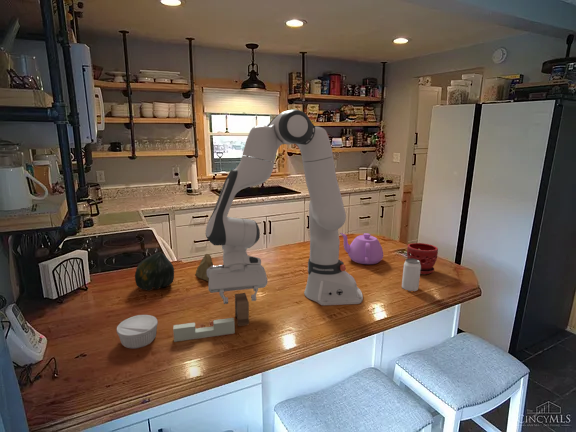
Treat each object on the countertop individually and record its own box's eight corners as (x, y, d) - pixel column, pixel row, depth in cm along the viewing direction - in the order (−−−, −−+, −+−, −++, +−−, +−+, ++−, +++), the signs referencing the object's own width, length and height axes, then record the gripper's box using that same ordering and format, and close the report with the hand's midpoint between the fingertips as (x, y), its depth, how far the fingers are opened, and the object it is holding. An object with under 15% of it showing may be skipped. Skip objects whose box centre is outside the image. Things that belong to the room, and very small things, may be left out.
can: (420, 288, 141) (424, 260, 138) (414, 293, 137) (417, 265, 134) (405, 283, 146) (408, 256, 143) (398, 288, 141) (401, 260, 138)
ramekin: (117, 355, 96) (115, 338, 95) (118, 334, 106) (117, 318, 105) (159, 346, 101) (158, 330, 99) (157, 326, 110) (156, 311, 109)
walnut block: (235, 315, 118) (234, 294, 116) (245, 314, 119) (245, 292, 117) (238, 326, 111) (237, 303, 109) (248, 324, 112) (248, 302, 110)
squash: (121, 275, 135) (138, 252, 129) (151, 264, 148) (168, 243, 142) (142, 304, 133) (160, 281, 126) (171, 290, 146) (188, 269, 140)
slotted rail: (233, 329, 109) (233, 317, 108) (234, 333, 107) (234, 321, 106) (174, 337, 104) (173, 325, 104) (174, 341, 102) (173, 329, 101)
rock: (220, 276, 143) (220, 265, 152) (207, 263, 140) (207, 251, 149) (200, 291, 144) (200, 279, 153) (186, 278, 140) (187, 266, 149)
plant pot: (441, 272, 158) (444, 247, 155) (423, 278, 151) (426, 252, 148) (416, 263, 169) (419, 240, 166) (399, 268, 161) (401, 244, 159)
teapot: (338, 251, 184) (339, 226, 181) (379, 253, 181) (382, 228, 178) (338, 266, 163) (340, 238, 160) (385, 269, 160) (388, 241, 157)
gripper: (206, 262, 117) (208, 302, 110) (265, 258, 122) (270, 295, 116) (205, 269, 122) (208, 308, 115) (262, 265, 128) (267, 301, 121)
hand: (240, 301), depth 115 cm, fingers open, 8 cm apart
